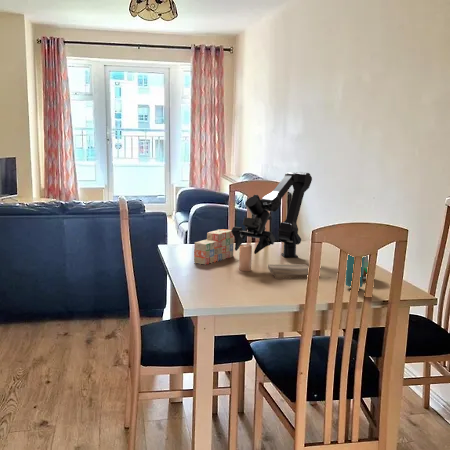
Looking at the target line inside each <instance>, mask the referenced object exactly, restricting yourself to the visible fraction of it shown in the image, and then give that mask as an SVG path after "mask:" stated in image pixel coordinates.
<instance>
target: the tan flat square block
mask: <svg viewBox="0 0 450 450" xmlns="http://www.w3.org/2000/svg"><path fill="white" fill-rule="evenodd" d="M308 267H309V266H308V265H307V264H306V263H304V264H303V263H299V264H298V263H291V264H288V263H287V264H283V263H282V264H280V263H279V264H268V266H267V268H268V270H269V271H270V273H271V274H272V276H273V277H274V278H275V279H276V280H277V279H279V280H280V279H284V280H285V279H308V278H307V275H308Z"/></svg>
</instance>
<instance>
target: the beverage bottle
mask: <svg viewBox="0 0 450 450" xmlns="http://www.w3.org/2000/svg"><path fill="white" fill-rule="evenodd" d="M364 259H365V258H364V257H363V258H362V267H361V277H360V287H359V288H362V287H363V285H364V281H363V279H364V278H363V275H364V274H363V272H364V262H365V261H364ZM353 264H354V257H352V256H350V255H348V260H347V259H346V267H347V270H346V269H345V275H346V277H345V278H346V279H345V280H346V281H345V286H347V287H349V288H351V287H350V286H351V281H352V273H353Z"/></svg>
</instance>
